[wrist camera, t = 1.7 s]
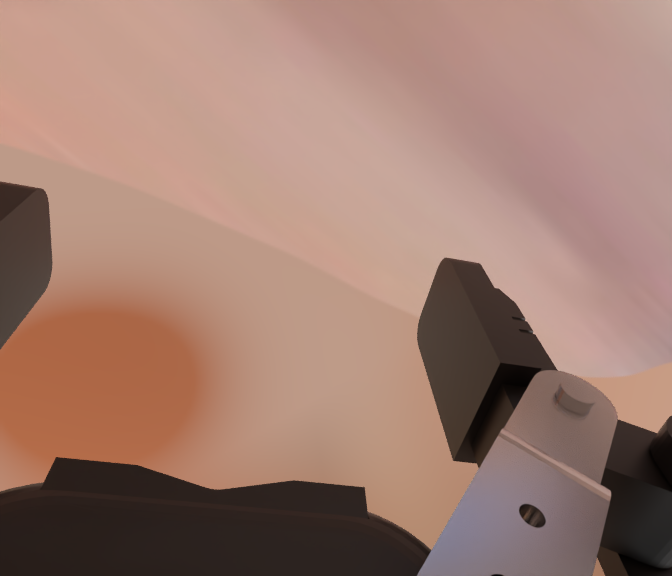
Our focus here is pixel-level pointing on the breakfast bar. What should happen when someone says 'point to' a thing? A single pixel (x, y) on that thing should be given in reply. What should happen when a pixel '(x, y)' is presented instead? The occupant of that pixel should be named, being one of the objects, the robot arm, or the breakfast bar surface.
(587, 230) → the breakfast bar surface
